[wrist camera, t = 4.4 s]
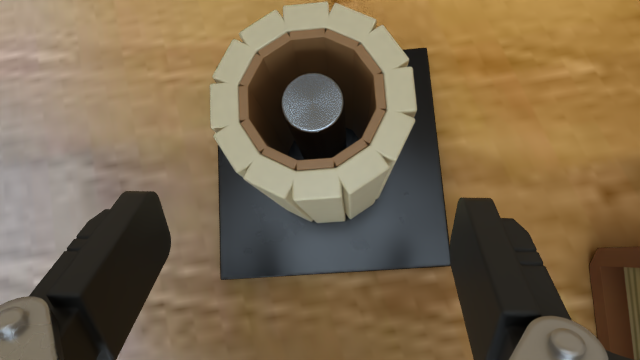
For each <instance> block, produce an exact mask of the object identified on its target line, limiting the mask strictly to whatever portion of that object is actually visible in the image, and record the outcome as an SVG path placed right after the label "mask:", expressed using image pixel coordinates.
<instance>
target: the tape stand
mask: <svg viewBox="0 0 640 360" xmlns="http://www.w3.org/2000/svg"><path fill="white" fill-rule="evenodd" d="M403 51H404V53H405V54H406V55H407V57H408V58H409V62H408V66H407V67H412V68H413V75H414V84H415V93H416V103H417V112H416V114H415V116H414V119H415V123H414V125H413V127H412V129H411V131H410V133H409V136H408V138H407V140H406V142H405V144H404V146H403V148H402V150H401V152H400V154H399V156H398V159H397V161H396V163H395V165H394V167H393V169H392V171H391V173H390V175H389V177H388V179H387V181H386V184H385V186H384V188H383V190H382V192H381V194H380V196H379V198H378V199H376V200H375V202H374V204H373V205H371V206H370V207H368V208H367V209H365V210H364V211H362V212H361V213H359V214H358V215H356V216H355V217H353V218H352V219H349V218H348V216H347V215H346V213H345V217H346V220H345V221H342V222H327V223H316V222H315V221H314V220H313V221H312V222H310V221H308V220H306V219H304V218H302V217H300V216H298V215H296V214H294V213H292V212H290V211H288V210H286V209H285V208H283V207H282V206H280V205H279V204H278V203H276V202H275V201H273V200H272V199H271V198H269V197H268V196H266V195H265V194H264V193H262V192H261V191H259V190H258V189H257V188H255V187H254V186H252V185H251V184H249V183H248V182H247V181H245V180H244V179H243V177H242V176H240V175H239V174H238V173H236V172H235V170H234V168H233V167H232V165H231V164H230V162H229V161H228V159H227V157H226V156H225V154H224V153H223V151H222V150H221V148H220V146H219V145H218V171H219V224H220V277H221V280H228V279H245V278H261V277H278V276H294V275H311V274H328V273H344V272H361V271H377V270H394V269H411V268H427V267H444V266H451V264H450V245H449V236H448V228H447V219H446V210H445V201H444V193H443V184H442V175H441V167H440V158H439V149H438V141H437V132H436V123H435V115H434V106H433V97H432V89H431V80H430V71H429V62H428V54H427V48H418V49H407V50H403ZM281 111H282V114H283V117H284V119H285V121H286V123H287V125H288V127H289V129H290V131H291V133H292V135H293V137H294V139H295V141H294V142H293V144H292V146H291V148H290V150H289V152H288V156H290V157H292V158H294V159H296V160H308V159H321V158H332V157H334V156H335V155H337V154H338V153H340V152H341V151H343V150H344V149H346V148H347V147H349V146H350V145H352V144H353V143H355V142H356V141H358V140H359V138H358V137H357V136H356V134H355V133H354V131H353V130H351V129H348V128H346V122H345V99H344V94H343V91H342V89H341V87H340V86H339V84H338V83H337V82H336V81H335V80H334V79H332V78H331V77H329V76H327V75H325V74H321V73H315V72H313V73H305V74H302V75H300V76H298V77H296V78H294V79H293V80H292V81H291V82H290V83H289V84H288V85H287V86H286V88H285V89H284V91H283V94H282V97H281Z"/></svg>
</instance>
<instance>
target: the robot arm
mask: <svg viewBox="0 0 640 360" xmlns="http://www.w3.org/2000/svg"><path fill="white" fill-rule="evenodd" d="M170 247H171V236H170V232H169V229H168V225H167V222H166V219H165V216H164V213H163V209H162V206H161V203H160V200H159V197H158V195H157V194H156V193H155V192H151V191H125V192H124V193H122V194H121V196H120V197H119V198H118V200H117V201H116V202H115V204H114V205H113V206H112V208H111V209H105V210H104V211H102V212H101V213H99V214H98V215H97V216H95V217H94V218H92V219H91V220H90V221H88V222H87V224H86V225H85V226H84V227H83V229H82V230H81V231H80V232H79V234H78V235H77V238H76V239H74V240H73V241H72V242H71V244H70V245H69V246H68V248H67V251H64V253H63V254H62V255H61V256H60V258H59V259H58V260H57V261H56V263H55V264H54V265H53V266H52V268H51V269H50V270H49V271H48V273H47V274H46V275H45V277H44V278H43V279H42V280H41V282H40V283H39V284H38V285H37V287H36V288H35V289H34V290H33V292H32V293H31V294H30V295H29V297H21V298H17V299H14V300H11V301H8V302H6V303H4V304H2V305H0V360H116V359H117V357H118V355H119V353H120V351H121V349H122V347H123V345H124V343H125V341H126V339H127V337H128V335H129V333H130V331H131V329H132V327H133V325H134V323H135V321H136V319H137V317H138V315H139V313H140V311H141V309H142V307H143V305H144V303H145V301H146V299H147V297H148V295H149V293H150V291H151V289H152V287H153V285H154V283H155V281H156V279H157V277H158V275H159V273H160V271H161V269H162V267H163V265H164V264H165V262H166V260H167V258H168V255H169V252H170ZM450 264H451V268H452V272H453V276H454V280H455V285H456V289H457V293H458V297H459V301H460V305H461V309H462V313H463V317H464V321H465V325H466V329H467V333H468V337H469V342H470V346H471V350H472V354H473V358H474V360H633V359H630V358H627V357H624V356H620V355H618V354H615V353H612V352H610V351H608V350H606V349H605V348H604V347H603V345H602V344H601V342H600V341H599V340H598V339H597V338H596V336H595V335H593V334H592V333H591V332H590V331H589V330H587V329H586V328H585V327H583V326H581V325H580V324H578V323H576V322H574V321H572V320H571V318H570V316H569V314H568V312H567V310H566V308H565V306H564V304H563V302H562V300H561V298H560V296H559V294H558V292H557V290H556V288H555V286H554V284H553V282H552V280H551V278H550V276H549V273H548V271H547V269H546V267H545V266H543V261H542V259H541V257H540V255H539V253H538V252H536V247H535V245H534V243H533V241H532V239H531V237H530V235H529V233H528V232H527V231H526V230H525V229H524V228H523V227H522V226H521V225H519V224H518V223H517V222H516V221H515V220H514V219H509V218H500V216H499V213H498V211H497V209H496V206H495V204H494V202H493V200H492V199H491V198H460V199H459V201H458V204H457V209H456V214H455V219H454V225H453V230H452V235H451V240H450Z"/></svg>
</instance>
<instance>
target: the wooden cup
mask: <svg viewBox="0 0 640 360" xmlns="http://www.w3.org/2000/svg"><path fill="white" fill-rule="evenodd" d="M239 35H240V38H241V40H242V41H243V42H240V41H238V40H236V39H233V40H232V42H231V44H230V45H229V47H228V49H227V51H226V53H225V54H224V56H223V58H222V60H221V62H220V63H219V65H218V67H217V69H216V71H215V72H214V74H213V79H214V80H215V81H216V82H217V83H216V84H210V125H211V129H213V130H214V131H215V132H216V134H214V139H215V140H216V142H217V143H218V145H219V146H220V148H221V150H222V151H223V153H224V154H225V156H226V157H227V159H228V161H229V162H230V164H231V165H232V167H233V168H234V170H235V172H236V173H238V174H239V175H240V176H242V177H243V179H244V180H245V181H247V182H248V183H249V184H251V185H252V186H254V187H255V188H257V189H258V190H259V191H261V192H262V193H264V194H265V195H266V196H268V197H269V198H271V199H272V200H273V201H275V202H276V203H278V204H279V205H280V206H282V207H283V208H285V209H286V210H288V211H290V212H292V213H294V214H296V215H298V216H300V217H302V218H304V219H306V220H308V221H310V222H312V221H313V220H314V221H315V222H316V223H327V222H342V221H345V220H346V217H345V213H346V215H347V216H348V218H349V219H352V218H353V217H355V216H356V215H358V214H359V213H361V212H362V211H364V210H365V209H367V208H368V207H370V206H371V205H373V204H374V202H375V200H376V199H378V198H379V196H380V194H381V192H382V190H383V188H384V186H385V184H386V181H387V179H388V177H389V175H390V173H391V171H392V169H393V167H394V165H395V163H396V161H397V159H398V156H399V154H400V152H401V150H402V148H403V146H404V144H405V142H406V140H407V138H408V136H409V133H410V131H411V129H412V127H413V125H414V123H415V119H414V116H415V114H416V112H417V103H416V93H415V84H414V75H413V68H412V67H407V66H408V62H409V58H408V57H407V55H406V54H405V53H404V51H403V50H402V49H401V48H400V46H399V45H398V44H397V42H396V41H395V40H394V39H393V37H392V36H391V35H390V33H389V32H388V31H387V29H386V28H385V27H384V26H383V25H380V26H379V27H377V28H376V19H374V18H372V17H369V16H367V15H364V14H362V13H359V12H357V11H354V10H352V9H350V8H347V7H345V6H342V5H340V4H337V3H335V4H334V6H333V8H332V9H331V11H330V13H329V4H328V2H318V3H308V4H298V5H288V6H283V17H282V16H281V15H280V13H279V12H278V11H277V10H274V11H272V12H270V13H269V14H267V15H266V16H264V17H263V18H261V19H260V20H258V21H257V22H255V23H253V24H252V25H250V26H249V27H247V28H246V29H244V30H243V31H241V32H240V33H239ZM313 72H315V73H321V74H325V75H327V76H329V77H331V78H332V79H334V80H335V81H336V82H337V83H338V84H339V86H340V87H341V89H342V91H343V94H344V99H345V122H346V128H348V129H351V130H353V131H354V133H355V134H356V136H357V137H358V138H359V140H358V141H356V142H355V143H353V144H352V145H350V146H349V147H347V148H346V149H344V150H343V151H341V152H340V153H338V154H337V155H335V156H334V157H332V158H321V159H308V160H296V159H294V158H292V157H290V156H288V152H289V150H290V148H291V146H292V144H293V142H294V141H295V139H294V137H293V135H292V133H291V131H290V129H289V127H288V125H287V123H286V121H285V119H284V117H283V114H282V111H281V97H282V94H283V91H284V89H285V88H286V86H287V85H288V84H289V83H290V82H291V81H292V80H293V79H294V78H296V77H298V76H300V75H302V74H305V73H313Z"/></svg>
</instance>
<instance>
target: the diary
mask: <svg viewBox="0 0 640 360" xmlns="http://www.w3.org/2000/svg"><path fill="white" fill-rule="evenodd" d="M589 269H590V277H591V286H592V294H593V302H594V311H595V319H596V327H597V335H598V340H599V341H600V342H601V344H602V345H603V347H604V348H605V349H606V350H608V351H610V352H612V353H615V354H618V355H620V356H624V357H627V358H630V359H633V360H640V247H617V248H598V249H597V251H596V253H595V255H594V257H593V259H592V261H591V263H590V265H589Z"/></svg>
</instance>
